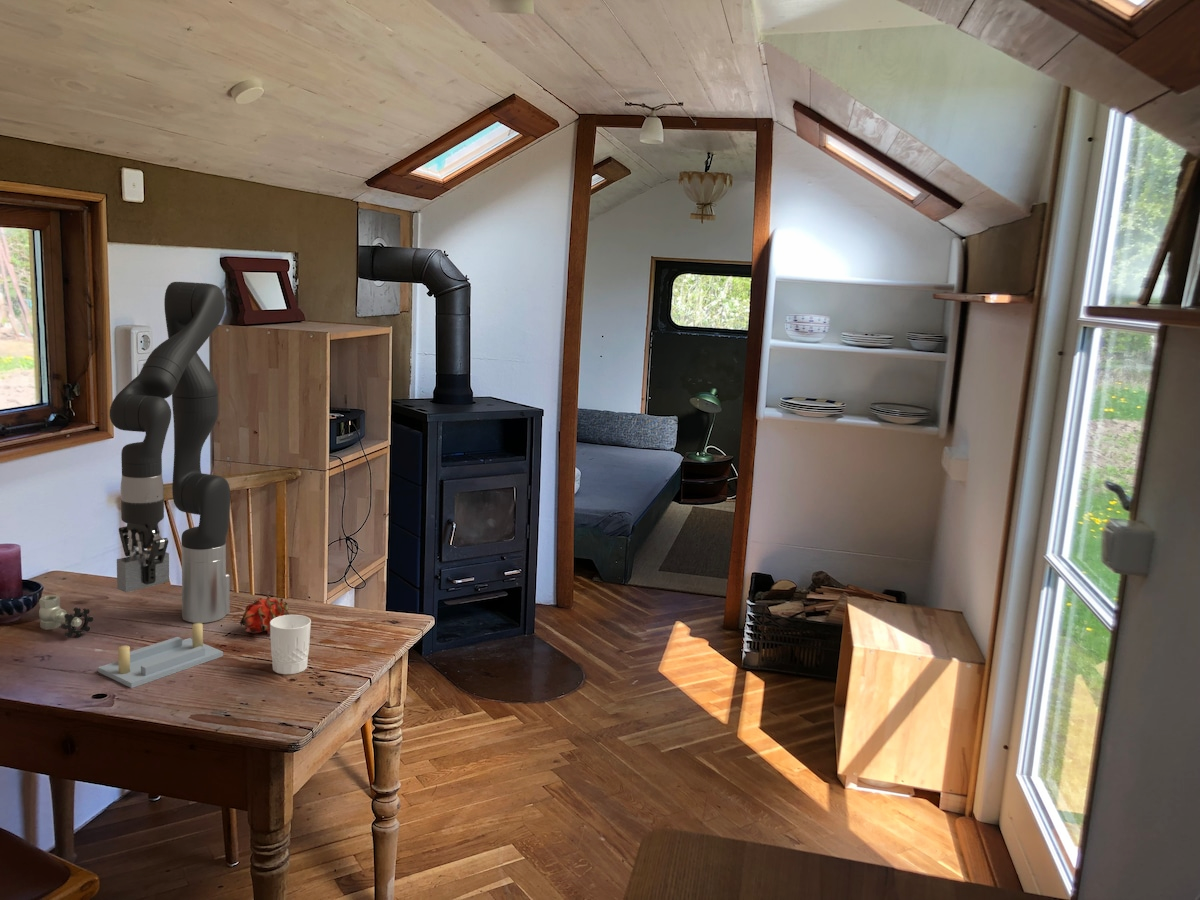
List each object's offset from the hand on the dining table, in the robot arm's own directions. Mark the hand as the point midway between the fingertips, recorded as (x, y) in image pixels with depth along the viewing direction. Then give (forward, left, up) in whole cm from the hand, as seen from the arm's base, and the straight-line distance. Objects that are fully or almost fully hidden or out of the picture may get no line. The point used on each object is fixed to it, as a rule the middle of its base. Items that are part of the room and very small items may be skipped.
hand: (144, 580), depth 186 cm
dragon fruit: (-26, +4, -17) cm, 31 cm away
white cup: (-17, +23, -17) cm, 33 cm away
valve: (+2, -27, -17) cm, 32 cm away
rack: (-2, +3, -17) cm, 17 cm away
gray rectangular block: (0, 0, -1) cm, 1 cm away
